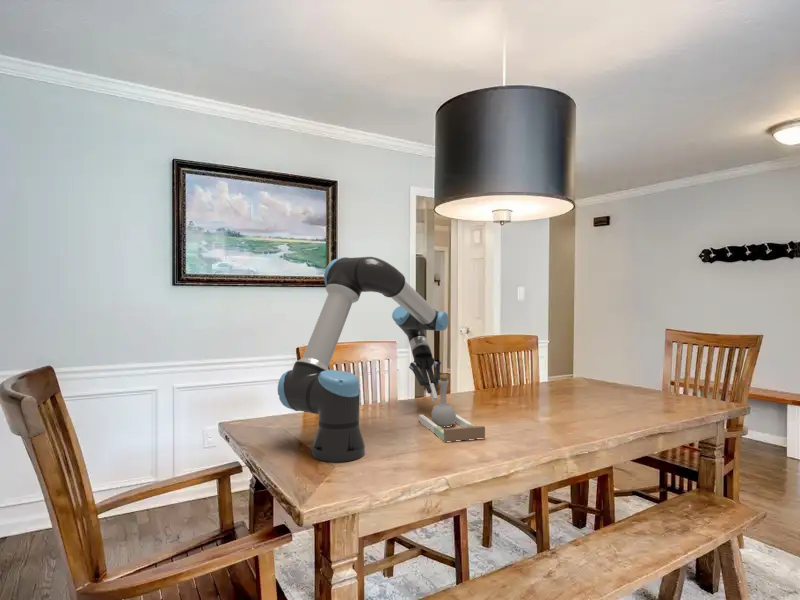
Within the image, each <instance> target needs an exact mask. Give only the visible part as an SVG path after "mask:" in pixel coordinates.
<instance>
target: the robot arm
mask: <svg viewBox="0 0 800 600" xmlns="http://www.w3.org/2000/svg"><path fill="white" fill-rule="evenodd" d="M323 278H325V279H323V281H324V284H325V291H326V293H327V296H326V299H325V300H324V303H323V306H322V309H321V311H320V313H319V316H318V319H317V320H316V324H315V326H314V329H313V330H312V333H311V336H310V338H309V340H308V342H307V346H306V348H305V351H304V353H303V356H302V357H301V358H300V359H298V360H296V361H295V362H294V365H293V366H292V369H290V370H287V371H285V372H283V373H282V375H281V376H280V378H279V380H278V383H277V395H278V399H279V401H280V403H281V404H282V405H283V406H284V407H285V408H287V409H290V410H293V411H295V412H305V413H310V414H314V415H318V428H317V431H316V434H315V438H314V441H313V443H312V448H311V454H312V457H313V458H315V459H317V460H318V461H322V462H330V463H342V462H350V461H354V460H358V459H360V458H362V457H363V456H364V455H365V453H366V450H365V448H366V446H365V441H364V439H363V438H364V437H363V436H362V433H361V428H360V394H361V390H360V381H359V378H358V376H357V375H355V374H353V373H352V372H348V371H345V370H335V369H329V366H330V363H331V361H332V358H333V355H334V353H335V351H336V348H337V344H338V343H339V339H340V337H341V334H342V333H343V329H344V326H345V323H346V320H347V318H348V316H349V312H350V310H351V309H352V305H353V304H354V303H357V302H358V301H359V300H360V297H361V294H362V293H364V292H365V293H367V292H368V293H369V292H371V293H378V294H380V295H381V294H382V295H383V296H384V297H385V298H388V299H389V298H391V300H393V302H396V303H397V304H398V305H399V306H397V307H396V308H394V310H393V312H392V314H391V318H392V320H393V321H394V322H395V324H396V325H397V326H398V327H399V329H401V330H402V332H404V334H405V335H406V336H407V340H408V343H409V346H410V347H409V348H410V351H411V354H412V357H413V362H410V364H409V366H408V368H409V369H410V370H411V371H412V373H413V374H414V376H415V378H416V379H417V382H418V383H419V385H420V386H421V387H423V386H424V389H426V392H427V394H429V396H430V398H431V402H432V403H436V402H437V401H438V399H439V397H438V387H437V386H438V385H439V382H438V380H440V375H441V374H440V373H441V371H440V370H441V369H440V366H441V364H442V362H441V361H436V359H435V358H434V357H433V354H432V349H431V347H430V343H429V340H428V337H427V334H426V331H436V332H437V331H439V332H440V331H446V330H447V328H448V326H449V320H450V319H449V315H448V313H447V311H443V310H437V309H435V308H434V307H433V306H432V305H431V304H430V303H429V302H428V301H427V300H425V298H424V297H423V296H422V295H420V293H418V291H416V290H415V289H414V288H413V286H412V285H410V284H409V283H408V282H407V281H406V276H405V275H404V274H403V273H402V272H401V271H400V270H398V269H397V268H396V267H395V266H394V265H392V264H390V263H389V262H387V261H385V260H383V259H381V258H378V257H374V256H363V257H362V256H361V257H340V258H339V257H338V258H335V259H333V260H331V261H330V262H329V263H328V265H327V266H326V268H325V271H324V274H323ZM433 366H434V370H433Z"/></svg>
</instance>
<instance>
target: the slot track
mask: <svg viewBox="0 0 800 600" xmlns="http://www.w3.org/2000/svg"><path fill="white" fill-rule="evenodd" d="M455 414H456V418H455V422H456V423H457V424H459V425H461V426H462V427H449V428H442V427H439V426H438V425H436V424H435V423H434V422H433V421H432V419H429V418H428V417H427V416H425V415H424V414H418V422H419V421H420V422H421V423H422V424H421V423H420V422H419V423H420V424H421V425H422V426H423V427H425V426H426V427H427V428H426V427H425V428H426V429H428V430H429V429H430V430H431V431H432V432H433V433H432V432H431V431H430V430H429V431H430V432H431V433H432V434H434V433H435V434H436V435H437V436H438V437H437V436H436V435H435V434H434V435H435V436H436V437H437V438H439V437H440V438H441V439H442V440H444V441H445V442H447V441H456V440H469V439H477V438H485V439H486V426H485V425H477V424H473V423H472V422H469V421H468V420H467V419H465V418H463V417H461V416H460V415H458V414H457V413H455ZM456 423H455V424H456ZM457 424H456V425H457ZM459 425H458V426H459ZM440 438H439V439H440ZM441 439H440V440H441ZM442 440H441V441H442ZM444 441H443V442H444ZM445 442H444V443H445ZM447 443H448V442H447Z"/></svg>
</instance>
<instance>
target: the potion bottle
mask: <svg viewBox="0 0 800 600" xmlns="http://www.w3.org/2000/svg"><path fill="white" fill-rule="evenodd" d="M449 381H450V380H449V379H448V375H447V374H446V373H443V374H440V380H438V382H439V384H438V385H439V387H440V389H439V390H440V394H439V396H440V397H439V399H440V400H439V403H437V404H434V406H433V407H432V409H431V413H430V414H431V415H430V416H431V421H432V422H434V423H435V424H436V425H438V426H440V427H444V426H445V427H447V426H451V425H452V424H453V425H454V424H455V423H454V422H455V418H456V414H457V413H456V410H455V408H454V407H453V405H452V404H448V403H447V387H448V385H449Z"/></svg>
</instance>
